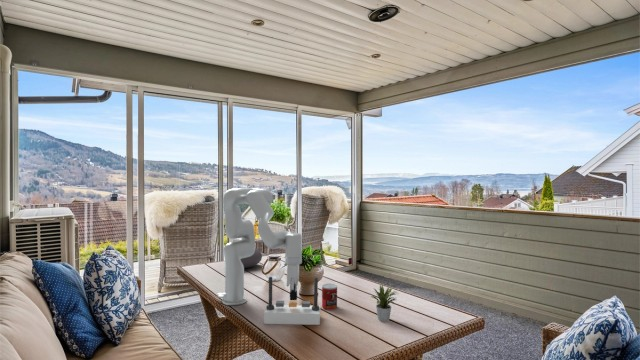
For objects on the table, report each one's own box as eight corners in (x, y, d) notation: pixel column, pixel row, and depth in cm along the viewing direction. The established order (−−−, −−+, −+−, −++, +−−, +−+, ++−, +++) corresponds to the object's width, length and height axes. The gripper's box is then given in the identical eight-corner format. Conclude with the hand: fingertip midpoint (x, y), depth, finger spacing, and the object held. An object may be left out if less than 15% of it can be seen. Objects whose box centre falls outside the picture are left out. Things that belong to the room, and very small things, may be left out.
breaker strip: (264, 323, 164) (264, 312, 164) (267, 315, 174) (267, 304, 174) (319, 324, 164) (319, 313, 164) (320, 316, 174) (320, 305, 174)
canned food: (326, 311, 181) (326, 288, 180) (319, 305, 188) (319, 284, 187) (339, 308, 184) (340, 286, 184) (332, 303, 191) (332, 282, 191)
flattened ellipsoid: (259, 271, 253) (259, 250, 253) (223, 271, 252) (223, 249, 252) (264, 263, 278) (264, 243, 277) (231, 262, 277) (231, 243, 277)
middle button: (288, 306, 167) (288, 303, 167) (289, 304, 171) (289, 300, 171) (296, 307, 167) (296, 303, 167) (297, 304, 171) (297, 300, 171)
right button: (301, 307, 167) (301, 303, 167) (302, 304, 171) (302, 301, 171) (309, 307, 167) (309, 303, 167) (310, 304, 171) (310, 301, 171)
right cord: (311, 310, 167) (311, 278, 167) (311, 308, 171) (312, 276, 171) (319, 310, 167) (319, 278, 167) (319, 308, 171) (320, 276, 170)
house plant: (392, 329, 160) (392, 292, 159) (363, 322, 167) (363, 286, 167) (403, 318, 172) (403, 284, 172) (375, 312, 179) (376, 279, 179)
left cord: (265, 310, 168) (266, 277, 167) (267, 307, 171) (267, 275, 171) (273, 310, 167) (273, 277, 167) (274, 307, 171) (275, 275, 171)
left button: (275, 306, 167) (275, 303, 167) (276, 303, 171) (276, 300, 171) (283, 306, 167) (283, 303, 167) (284, 304, 171) (284, 300, 171)
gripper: (287, 256, 176) (287, 294, 176) (283, 263, 161) (283, 305, 161) (302, 256, 176) (302, 294, 176) (300, 263, 161) (300, 305, 161)
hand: (293, 299), depth 169 cm, fingers closed
